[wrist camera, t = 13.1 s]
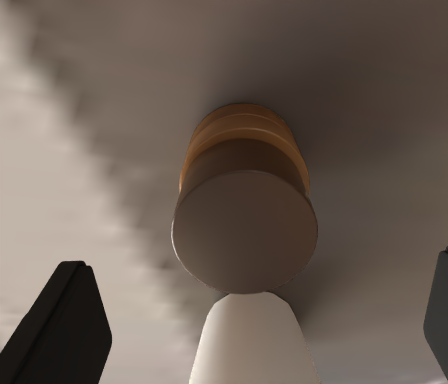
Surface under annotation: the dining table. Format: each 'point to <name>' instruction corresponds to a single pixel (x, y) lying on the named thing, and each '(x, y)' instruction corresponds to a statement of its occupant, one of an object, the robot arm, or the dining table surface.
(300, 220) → the walnut chip
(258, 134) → the oak chip middle
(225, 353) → the foam cup
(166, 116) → the dining table surface
